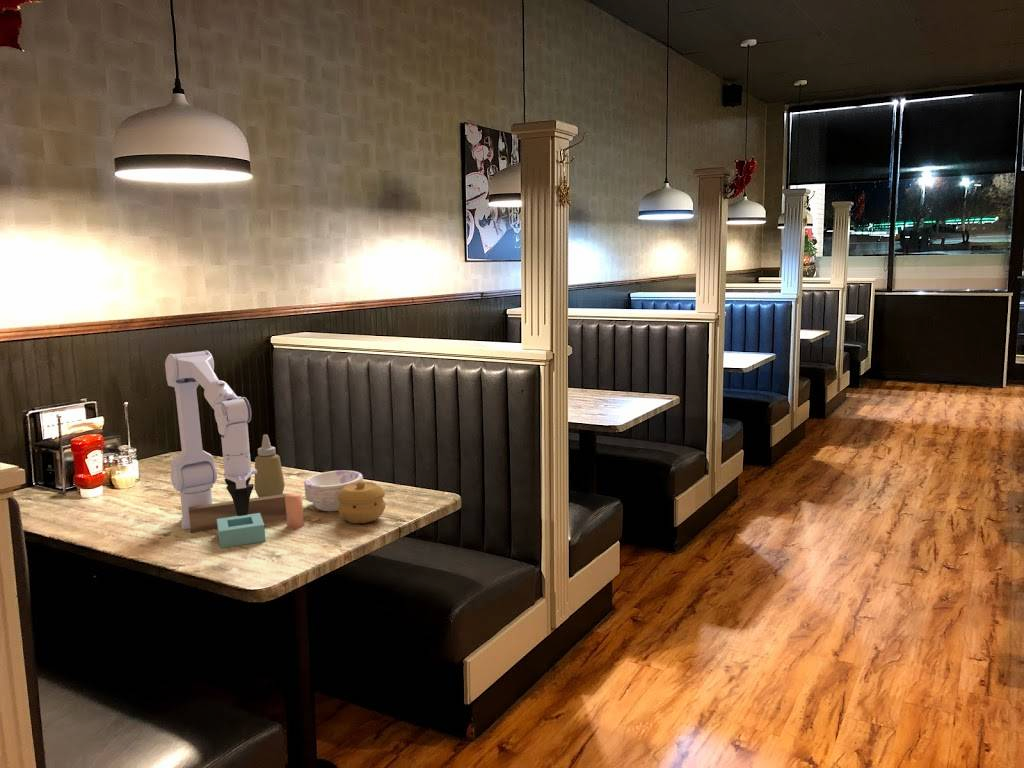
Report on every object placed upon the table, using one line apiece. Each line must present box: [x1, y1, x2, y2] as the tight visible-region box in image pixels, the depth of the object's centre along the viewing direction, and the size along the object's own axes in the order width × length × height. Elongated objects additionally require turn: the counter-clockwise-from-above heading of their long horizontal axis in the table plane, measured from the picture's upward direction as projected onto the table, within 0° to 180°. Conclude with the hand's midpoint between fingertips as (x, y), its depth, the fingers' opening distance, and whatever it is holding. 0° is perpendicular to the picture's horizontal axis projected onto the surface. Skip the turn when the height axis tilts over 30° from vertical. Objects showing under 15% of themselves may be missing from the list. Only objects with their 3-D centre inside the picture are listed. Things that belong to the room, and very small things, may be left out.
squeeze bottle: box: [253, 434, 286, 498], centre depth 228 cm, size 8×8×18 cm
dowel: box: [285, 492, 305, 529], centre depth 206 cm, size 4×4×8 cm
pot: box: [337, 480, 387, 524], centre depth 209 cm, size 12×12×10 cm
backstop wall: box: [188, 493, 287, 534], centre depth 208 cm, size 2×24×6 cm, turn 112°
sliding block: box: [216, 513, 267, 549], centre depth 198 cm, size 10×10×4 cm
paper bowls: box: [303, 469, 364, 512], centre depth 221 cm, size 15×15×8 cm
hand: (241, 511), depth 188 cm, fingers open, 5 cm apart
